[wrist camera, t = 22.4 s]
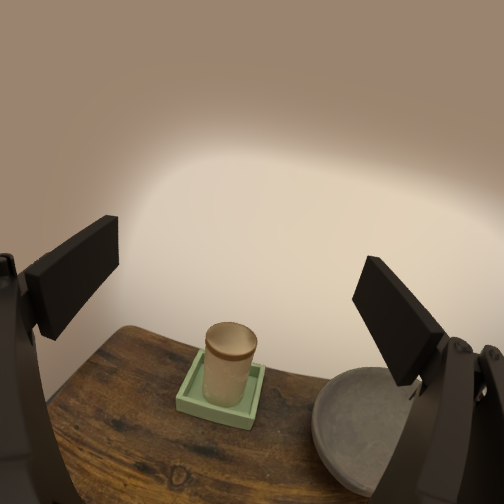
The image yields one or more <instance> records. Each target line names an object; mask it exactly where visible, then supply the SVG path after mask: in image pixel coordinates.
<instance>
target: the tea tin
mask: <svg viewBox="0 0 504 504" xmlns="http://www.w3.org/2000/svg"><path fill="white" fill-rule="evenodd" d="M205 343H206V348H205V360H204V372H203V384H202V394H203V396H204V398H205V400H206V401H207V402H208V403H210V404H212V405H215V406H219V407H223V408H230V407H233V406H236V405H237V404H239V403H240V402H241V400H242V398H243V395H244V391H245V387H246V383H247V379H248V375H249V371H250V367H251V363H252V359H253V355H254V352H255V350H256V346H257V337H256V335H255V334H254V332H253V331H251V330H250V329H249V328H248V327H246V326H244V325H241V324H238V323H234V322H222V323H218V324H215V325H213V326H211V327H210V328H209V329H208V331H207V333H206V339H205Z"/></svg>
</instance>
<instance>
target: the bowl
mask: <svg viewBox="0 0 504 504" xmlns="http://www.w3.org/2000/svg"><path fill="white" fill-rule="evenodd" d="M420 383H421V381H419V380H418V379H415V381H414V382H413V384H412V385H409V386H400V387H397V385H396V383H395V381H394V379H393V377H392V375H391V373H390V371H389V369H388V368H382V367H362V368H357V369H353V370H349V371H346V372H344V373H342V374H339V375H338V376H336V377H334V378H333V379H331V380H330V381H329V382H328V383H327V384H326V385H325V386H324V387H323V388H322V390H321V391H320V392H319V394H318V396H317V398H316V400H315V403H314V407H313V411H312V419H311V429H312V436H313V441H314V444H315V447H316V450H317V452H318V454H319V456H320V458H321V460H322V462H323V463H324V465H325V466H326V468H327V469H328V470H329V472H330V473H331V474H332V475H333V476H334V478H335V479H336V480H337V481H338V482H339V483H340V484H341V485H343V486H344V487H345V488H347V489H348V490H350V491H352V492H354V493H356V494H359V495H362V496H365V497H370V498H371V496H372V494H373V492H374V491H375V489H376V487H377V485H378V483H379V481H380V479H381V477H382V475H383V474H384V472H385V470H386V467H387V465H388V463H389V461H390V459H391V457H392V455H393V452H394V450H395V448H396V446H397V443H398V441H399V438H400V436H401V434H402V431H403V428H404V426H405V423H406V421H407V418H408V415H409V412H410V409H411V406H412V403H413V400H414V397H413V398H412V399H411V400H409V398H410V396H411V395H412V394H413V392H414V391H415V390H416V388H417V387H418V386H419V384H420Z"/></svg>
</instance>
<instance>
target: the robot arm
mask: <svg viewBox="0 0 504 504" xmlns="http://www.w3.org/2000/svg"><path fill="white" fill-rule="evenodd" d="M118 253H119V250H118V217H117V216H109V215H105V216H103V217H102V218H100V219H99V220H97V221H95V222H94V223H92V224H91V225H89V226H88V227H86V228H85V229H83V230H82V231H80V232H79V233H77V234H75V235H74V236H72V237H71V238H70V239H68V240H67V241H65V242H64V243H62V244H61V245H60V246H58V247H57V248H55V249H54V250H52V251H51V252H49V253H46V254H45V255H43V256H42V257H40V258H39V260H36V261H35V262H34V263H33V264H31V265H30V266H28V267H27V268H26V269H25V270H23V271H22V272H21V273H19V274H18V275H17V273H16V268H15V263H14V258H13V255H11V254H8V253H1V254H0V504H85V503H84V501H83V500H82V499H81V497H80V496H79V495H78V493H77V491H76V489H75V487H74V485H73V483H72V481H71V478H70V476H69V474H68V471H67V469H66V466H65V464H64V461H63V459H62V456H61V453H60V450H59V447H58V444H57V441H56V438H55V435H54V432H53V429H52V425H51V422H50V418H49V414H48V410H47V406H46V402H45V398H44V393H43V389H42V383H41V379H40V373H39V367H38V360H37V352H36V344H35V336H34V333H33V330H32V328H33V327H34V326H35V325H36V324H38V327H39V330H40V333H41V335H42V336H44V337H47V338H49V339H52V340H54V341H56V339H57V338H58V337H59V335H60V334H61V333H62V332H63V330H64V329H65V328H66V326H67V325H68V324H69V323H70V321H71V320H72V319H73V318H74V316H75V315H76V314H77V313H78V311H79V310H80V309H81V308H82V307H83V305H84V304H85V303H86V302H87V301H88V299H89V298H90V297H91V296H92V295H93V294H94V292H95V291H96V290H97V289H98V288H99V286H100V285H101V284H102V283H103V282H104V281H105V280H106V279H107V277H108V276H109V275H110V274H111V273H112V272H113V271H114V270H115V269H116V268H117V267H118V265H119V254H118ZM352 301H353V302H354V304H355V306H356V307H357V309H358V311H359V313H360V315H361V317H362V318H363V320H364V322H365V324H366V326H367V328H368V330H369V332H370V334H371V335H372V337H373V339H374V341H375V343H376V345H377V347H378V349H379V351H380V353H381V354H382V357H383V359H384V361H385V362H386V364H387V367H388V369H389V371H390V373H391V375H392V377H393V379H394V381H395V383H396V385H397V387H400V386H409V385H412V384H413V382H414V381H415V379H416V378H417V377H418V375H420V377H421V379H422V382H421V383H420V384H419V386H418V387H417V388H416V390H415V391H414V392H413V394H412V395H411V396H410V398H409V400H411V399H412V398H413V397H414V400H413V403H412V406H411V409H410V412H409V415H408V418H407V421H406V423H405V426H404V428H403V431H402V434H401V436H400V438H399V441H398V443H397V446H396V448H395V450H394V452H393V455H392V457H391V459H390V461H389V463H388V465H387V467H386V470H385V472H384V474H383V475H382V477H381V479H380V481H379V483H378V485H377V487H376V489H375V491H374V492H373V494H372V496H371V498H370V499H369V501H368V503H367V504H504V356H503V355H502V353H501V352H500V350H499V349H498V348H496V347H493V346H491V345H485V346H484V348H483V350H482V351H481V353H480V354H477V353H473V349H472V347H471V346H470V345H469V344H468V343H467V342H466V341H464V340H462V339H460V338H457V337H451V338H450V337H449V336H448V335H447V333H446V332H445V331H444V330H443V328H442V327H441V326H440V325H439V324H438V323H437V322H436V320H435V319H434V317H432V315H431V314H430V313H429V311H428V310H427V309H426V308H424V306H423V305H422V304H421V303H420V302H419V301H418V299H417V298H416V297H415V296H414V295H413V294H412V292H411V291H410V290H409V289H408V288H407V287H406V286H405V285H404V284H403V282H402V281H401V280H400V279H399V278H398V277H397V276H396V275H395V274H394V273H393V271H392V270H391V269H390V268H389V267H388V266H387V265H386V264H385V263H384V262H383V261H382V260H381V259H380V258H379V257H374V256H367V259H366V262H365V265H364V267H363V270H362V273H361V276H360V279H359V282H358V284H357V287H356V290H355V293H354V295H353V298H352ZM485 388H487V391H486V394H485V396H484V397H483V398H482V399H481V400H479V395H480V394H481V393H482V391H483V390H484V389H485Z"/></svg>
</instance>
